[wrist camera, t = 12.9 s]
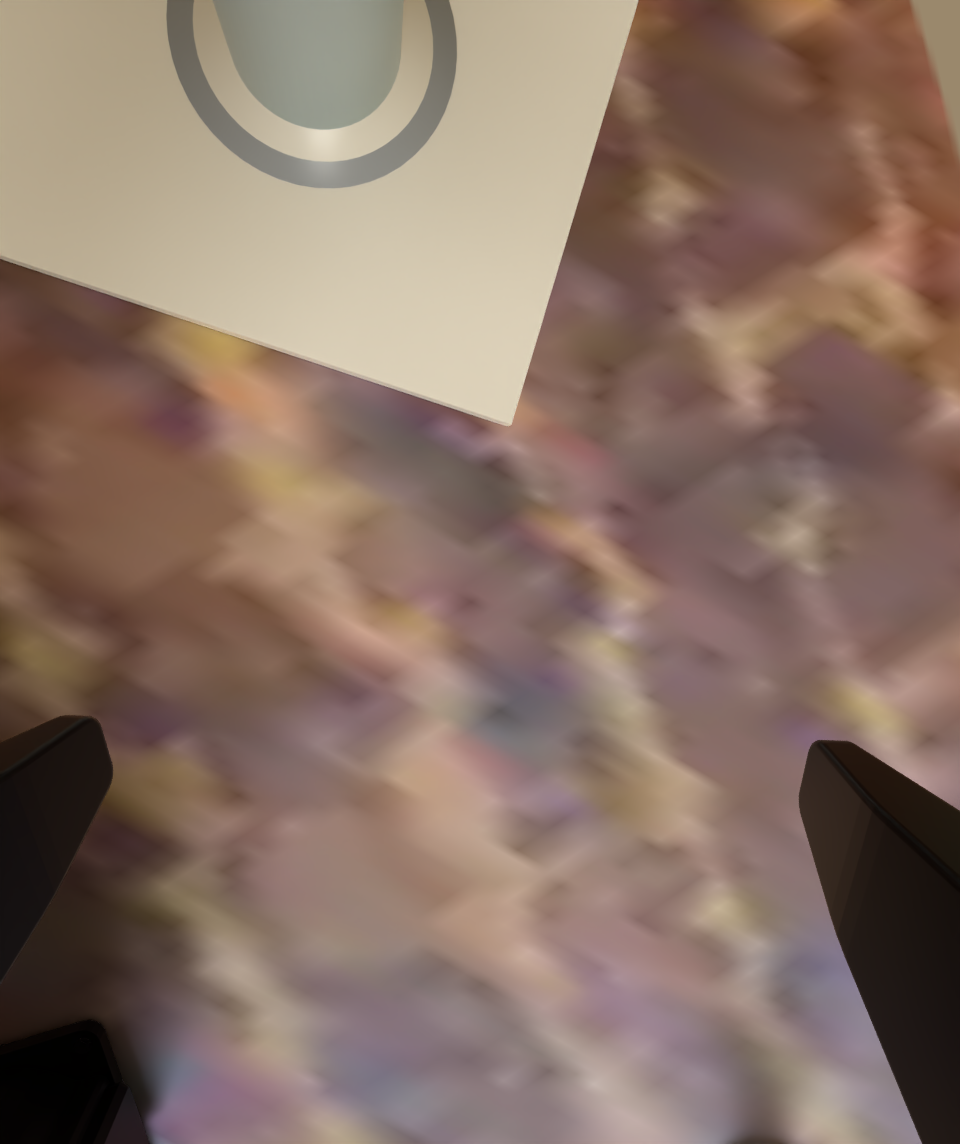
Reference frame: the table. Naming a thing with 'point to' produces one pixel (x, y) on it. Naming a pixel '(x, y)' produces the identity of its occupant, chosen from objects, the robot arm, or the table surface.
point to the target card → (313, 182)
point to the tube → (315, 55)
